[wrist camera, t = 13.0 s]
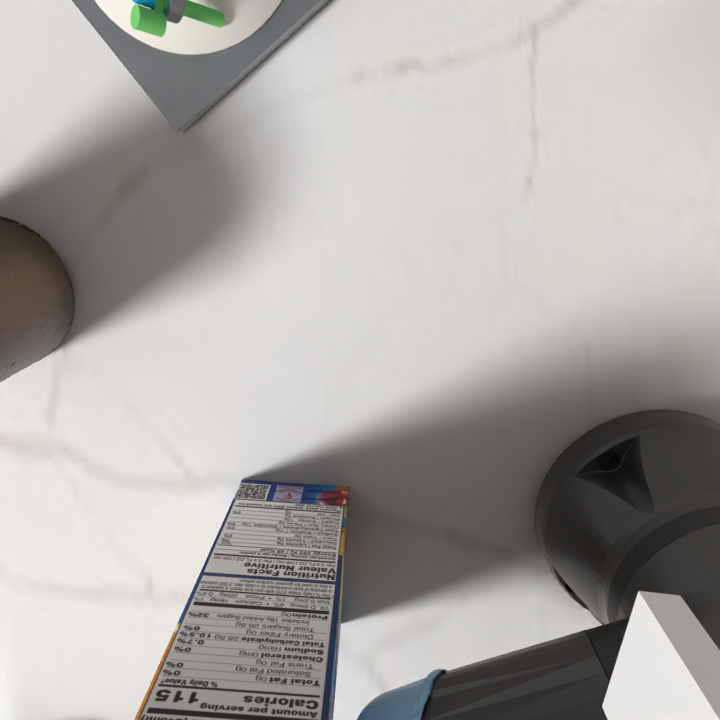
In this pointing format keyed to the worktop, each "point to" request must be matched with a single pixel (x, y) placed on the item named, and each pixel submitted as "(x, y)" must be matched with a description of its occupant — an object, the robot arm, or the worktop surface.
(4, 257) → the pillar candle
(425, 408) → the worktop surface
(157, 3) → the gear
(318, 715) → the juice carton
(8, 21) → the worktop surface
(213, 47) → the disc
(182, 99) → the carrier plate
